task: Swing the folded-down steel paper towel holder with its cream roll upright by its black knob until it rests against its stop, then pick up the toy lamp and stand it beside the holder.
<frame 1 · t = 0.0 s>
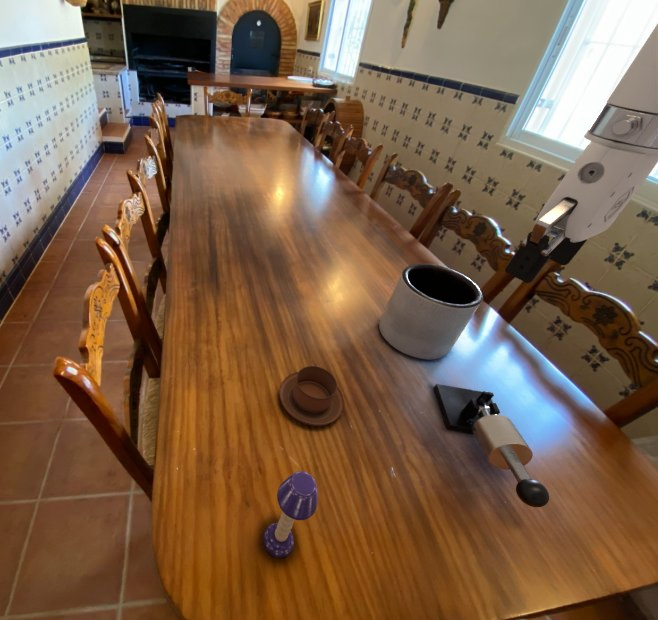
hand: (536, 268, 48), 32 cm above the table, tool pointing down, fingers open, 9 cm apart
toy lamp: (279, 539, 50), on the table
planter: (411, 337, 84), on the table
towel base: (470, 422, 67), on the table
cup and saucer: (309, 402, 68), on the table
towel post: (505, 448, 57), point 5 cm above the table, hinge at -80.0°
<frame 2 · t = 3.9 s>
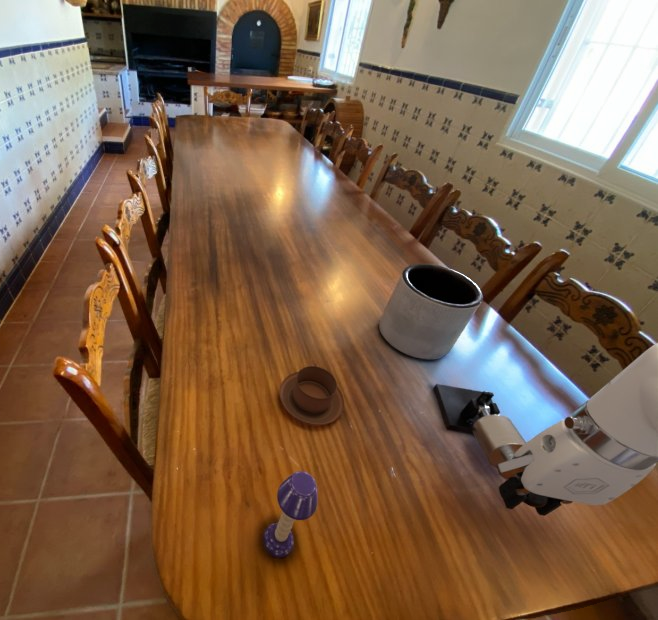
hand: (520, 501, 52), 4 cm above the table, tool pointing down, fingers closed on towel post, 3 cm apart
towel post: (505, 448, 57), point 5 cm above the table, hinge at -80.0°, touching gripper
everything else where it was.
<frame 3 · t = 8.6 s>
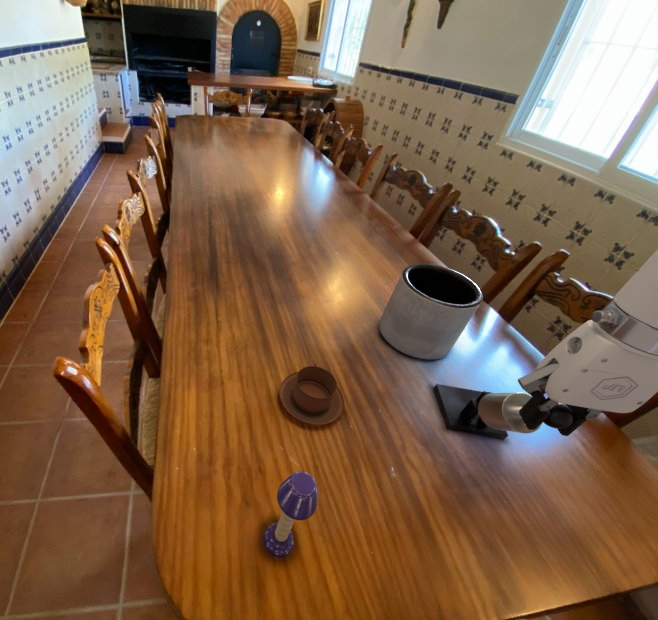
hand: (542, 423, 50), 14 cm above the table, tool pointing down, fingers closed on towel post, 3 cm apart
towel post: (515, 412, 56), point 11 cm above the table, hinge at -36.8°, touching gripper
everything else where it was.
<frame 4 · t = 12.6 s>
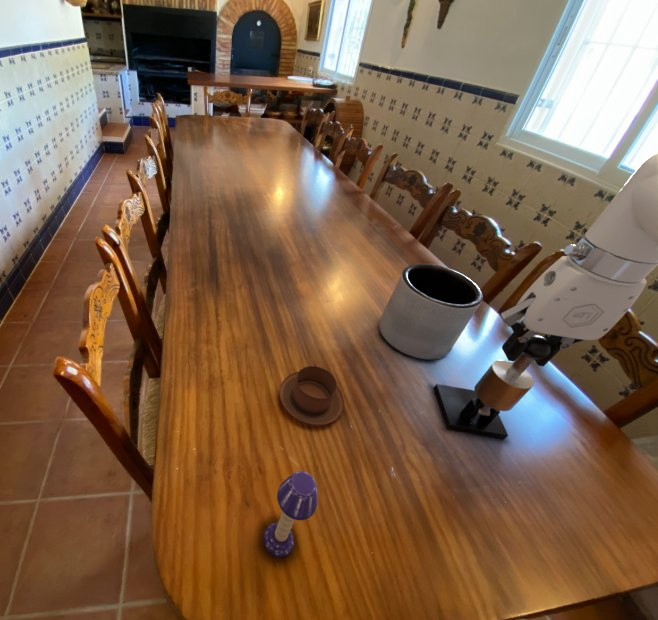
hand: (522, 356, 56), 17 cm above the table, tool pointing down, fingers closed on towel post, 3 cm apart
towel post: (507, 379, 59), point 12 cm above the table, hinge at 1.0°, touching gripper, towel base
everything else where it was.
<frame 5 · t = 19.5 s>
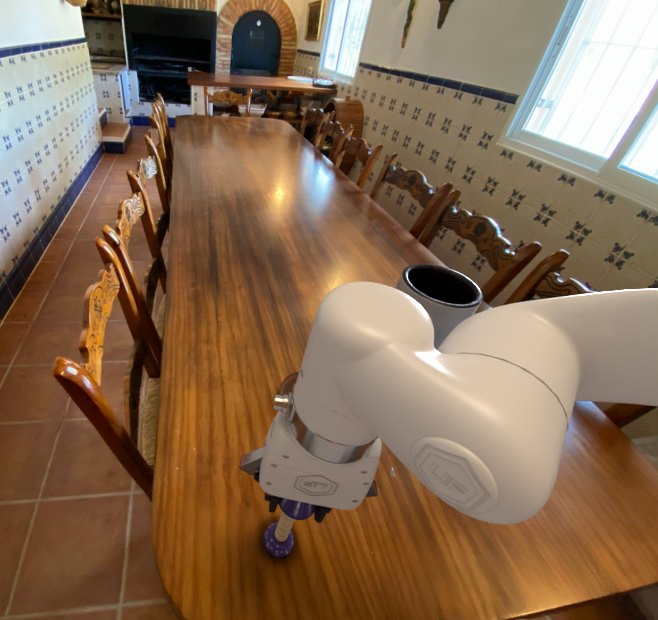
hand: (295, 503, 42), 12 cm above the table, tool pointing down, fingers closed on toy lamp, 4 cm apart
toy lamp: (279, 539, 50), on the table, touching gripper
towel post: (507, 379, 59), point 12 cm above the table, hinge at 0.7°
everything else where it was.
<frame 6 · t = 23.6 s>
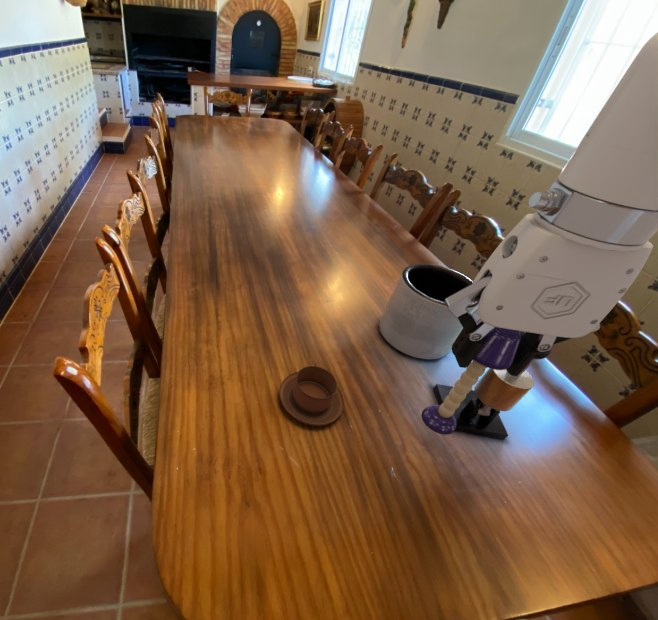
hand: (483, 361, 41), 27 cm above the table, tool pointing down, fingers closed on toy lamp, 4 cm apart
toy lamp: (437, 420, 49), point 15 cm above the table, touching gripper
everything else where it was.
when the fingers open (12 cm above the table, at t = 27.8 s): toy lamp stays where it is, on the table.
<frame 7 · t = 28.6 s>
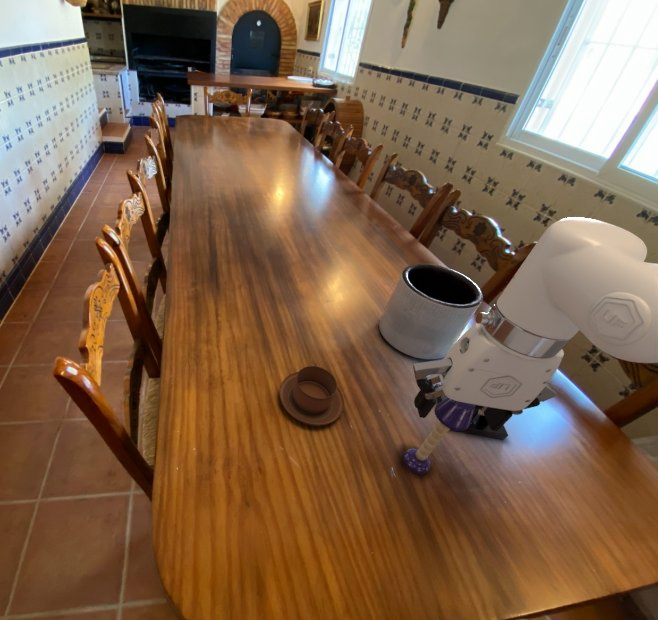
hand: (454, 415, 51), 13 cm above the table, tool pointing down, fingers open, 9 cm apart
toy lamp: (415, 461, 60), on the table
everything else where it was.
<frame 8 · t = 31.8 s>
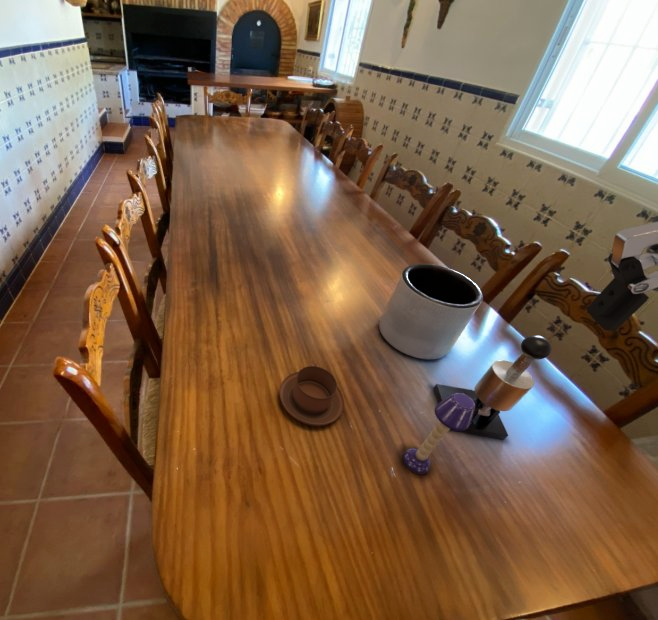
hand: (656, 329, 32), 36 cm above the table, tool pointing down, fingers open, 9 cm apart
nothing on the table moved.
at the end: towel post at +1° (first picture: -80°); toy lamp inside the target area on the table beside the towel base (0.0 cm from its centre), on the table; toy lamp tilted 0° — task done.
